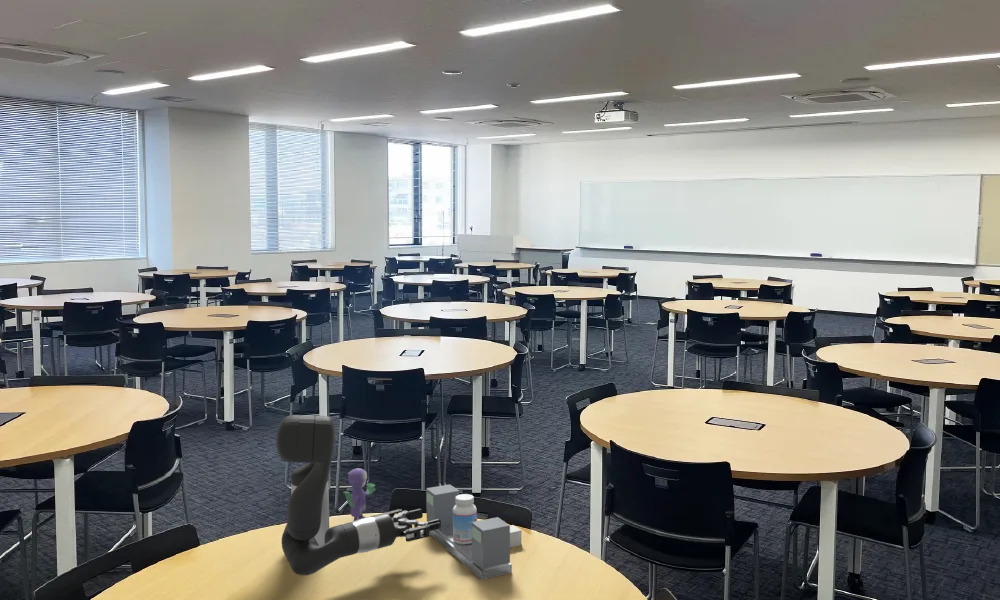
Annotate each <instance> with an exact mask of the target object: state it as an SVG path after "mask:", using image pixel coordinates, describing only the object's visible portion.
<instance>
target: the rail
mask: <svg viewBox="0 0 1000 600" xmlns="http://www.w3.org/2000/svg"><path fill="white" fill-rule="evenodd" d="M429 536H431V537H432V536H433V537H434V538H435V539H434V538H433V537H432V538H433V539H434V540H435V541H437V543H439V545H441V546H442V545H443V546H444V547H443V546H442V547H443V548H445V549H446V550H447V551H448V552H449V553H450V554H451V555H453V556H454V557H455V558H456V559H457V560H458V562H461V563H462V565H464V566H465V567H466V568H467V569H469V571H471V572H472V573H473V574H475V576H476V577H477V578H479V579H480V580H486V579H491V578H495V577H499V576H503V575H508V574H512V573H513V571H512V570H513V564H512V563H511V562H510V563H507V564H502V565H498V566H494V567H490V568H485V569H483V568H482V567H481V566H479V565H478V564H477V563H476V562H475V561H473V560H472V543H471V544H458V543H456V542H454V540H453V525H450V526H445V527H441V528H440V529H436V530H433V531H429Z"/></svg>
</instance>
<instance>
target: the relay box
mask: <svg viewBox="0 0 1000 600" xmlns="http://www.w3.org/2000/svg"><path fill="white" fill-rule="evenodd" d="M519 546H522V529H520V528H518V527H517V526H515V525H514V524H512V525H510V549H511V548H515V547H519Z"/></svg>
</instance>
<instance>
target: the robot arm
mask: <svg viewBox="0 0 1000 600" xmlns="http://www.w3.org/2000/svg"><path fill="white" fill-rule="evenodd" d="M334 422H335V421H334V420H333V419H332V417H330V416H328V415H308V414H305V415H304V414H303V415H302V414H293V415H287V416H285V417H284V418H283V419H282V420H281V421H280V423H279V426H278V429H277V433H276V440H275V441H276V443H275V444H276V452H277V453H278V456H279V458H280V459H281V460H282V461H284V462H287V463H305V464H304V465H301V466H298V467H296V468H295V469H294V470H293V471H291V474H290V486H291V487H290V488H291V489H290V492H291V493H290V494H291V495H290V496H289V499H288V502H287V512H286V513H287V514H286V515H287V516H286V518H287V519H286V525H285V526H284V527H285V528H284V530H283V532H282V536H281V548H282V551H283V553H284V556H285V558H286V560H287V562H288V564H289V567H290V568H291V570H292V571H293V573H294V574H295V575H299V576H309V575H312V574H315V573H317V572H319V571H320V570H322V569H324V568H325V567H327V566H329V565H330V564H332V563H333V562H335V561H337V560H339V559H341V558H345V557H348V556H352V555H353V556H354V555H356V554H361V553H362V554H363V553H368V552H371V551H376V550H379V549H383V548H387V547H389V546H392V545H393V544H394V542H395V541H396V539H397V538H405V542H407V543H408V542H413V541H417V540H422V539H425V538H428V537H430V534H429V531H433V530H436V529H440V528H441V520H439V519H435V520H431V521H428V522H427V521H418V520H419V519H422V518H423V517H424V515H423V514H424V513H423V512H424V511H423V509H422V508H417V509H413V510H409V511H408V510H402V508H398V509H395V510H390V511H388V512H383V513H379V514H375V515H371V516H370V515H369V516H367V517H366V516H365V517H366V518H362V519H358V520H355V521H350V522H346V523H342V524H337V525H335V526H331V527H330V497H329V496H330V495H329V494H330V489H329V487H330V485H329V481H330V480H329V474H330V471H331V465H332V461H333V456H334V451H335V450H334V449H335V439H336V434H335V433H336V428H335V423H334Z"/></svg>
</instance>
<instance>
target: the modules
mask: <svg viewBox="0 0 1000 600" xmlns="http://www.w3.org/2000/svg"><path fill="white" fill-rule="evenodd" d="M425 494H426V495H425V496H426V497H425V498H426V522H428V521H431V520H435V519H439V520H441V527H445V526H450V525H453V508H454V506H455V505H457V504H456V502H455V498H456V496H457V495H460V490H459V489H457V488H456V487H454V486H453V485H451V484H445V485H440V486H439V485H437V486H432V487H426V493H425ZM510 526H511V525H510V524H508V523H507V522H506V521H505V520H502V519H501V518H500V517H498V516H496V517H490V518H487V519H481V520H477V521H476V522H472V560H473V561H475V562H476V563H477V564H478V565H479V566H481V567H482V568H483V569H485V568H490V567H494V566H498V565H502V564H507V563H511V548H510Z"/></svg>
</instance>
